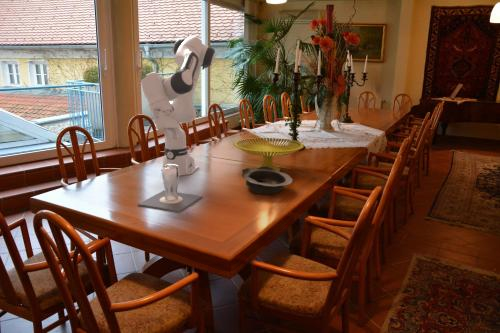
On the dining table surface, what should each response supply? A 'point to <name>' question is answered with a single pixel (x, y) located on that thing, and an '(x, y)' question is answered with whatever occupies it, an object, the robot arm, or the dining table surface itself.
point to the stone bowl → (265, 180)
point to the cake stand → (268, 149)
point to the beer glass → (170, 181)
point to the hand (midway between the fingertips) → (173, 139)
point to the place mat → (175, 206)
